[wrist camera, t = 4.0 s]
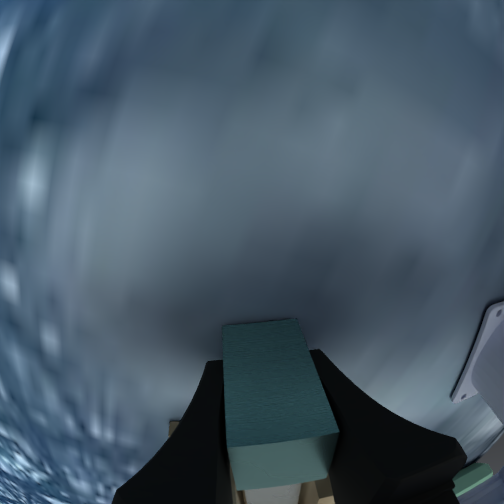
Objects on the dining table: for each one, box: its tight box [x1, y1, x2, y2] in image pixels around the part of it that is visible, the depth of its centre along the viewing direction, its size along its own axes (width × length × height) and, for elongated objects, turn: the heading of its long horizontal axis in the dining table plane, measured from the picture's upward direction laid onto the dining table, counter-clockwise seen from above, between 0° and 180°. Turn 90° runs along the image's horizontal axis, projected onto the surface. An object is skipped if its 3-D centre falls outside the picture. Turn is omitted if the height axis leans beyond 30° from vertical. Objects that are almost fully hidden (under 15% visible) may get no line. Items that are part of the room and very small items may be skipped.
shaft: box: [222, 319, 339, 504], centre depth 14 cm, size 3×24×6 cm, turn 3°
